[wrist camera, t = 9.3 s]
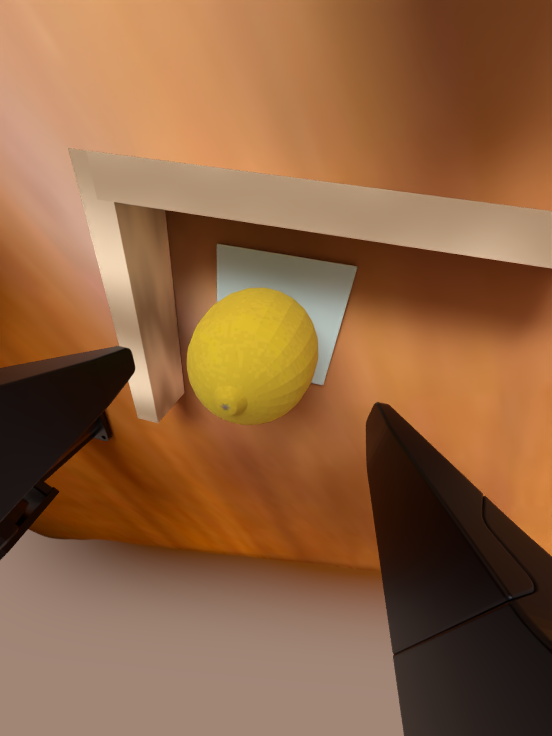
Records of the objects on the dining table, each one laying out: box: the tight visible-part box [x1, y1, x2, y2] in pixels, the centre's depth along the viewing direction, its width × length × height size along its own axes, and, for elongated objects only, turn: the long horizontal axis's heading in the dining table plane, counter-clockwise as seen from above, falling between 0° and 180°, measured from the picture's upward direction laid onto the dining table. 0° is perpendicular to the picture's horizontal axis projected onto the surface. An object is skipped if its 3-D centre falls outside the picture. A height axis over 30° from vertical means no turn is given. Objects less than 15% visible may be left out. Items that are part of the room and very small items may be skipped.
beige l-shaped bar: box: [68, 148, 552, 423], centre depth 13 cm, size 14×21×4 cm
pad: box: [217, 244, 357, 385], centre depth 14 cm, size 8×8×1 cm
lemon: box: [187, 288, 318, 425], centre depth 11 cm, size 6×6×8 cm
